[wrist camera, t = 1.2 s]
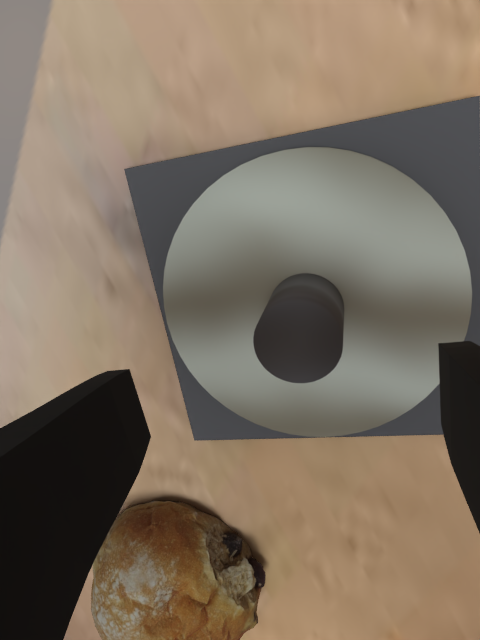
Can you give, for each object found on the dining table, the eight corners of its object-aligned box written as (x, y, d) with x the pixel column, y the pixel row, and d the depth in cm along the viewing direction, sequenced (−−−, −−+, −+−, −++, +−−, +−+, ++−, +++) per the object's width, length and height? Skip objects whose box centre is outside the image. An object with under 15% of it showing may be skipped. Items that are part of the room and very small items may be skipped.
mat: (480, 427, 21) (483, 433, 21) (197, 434, 25) (194, 440, 25) (476, 96, 17) (479, 95, 16) (129, 168, 20) (124, 169, 20)
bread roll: (155, 447, 31) (44, 519, 25) (283, 523, 25) (178, 640, 19) (162, 555, 35) (67, 640, 29) (275, 643, 29) (185, 771, 23)
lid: (471, 423, 21) (499, 490, 17) (201, 432, 24) (172, 489, 20) (463, 114, 16) (498, 107, 13) (137, 179, 20) (85, 190, 16)
